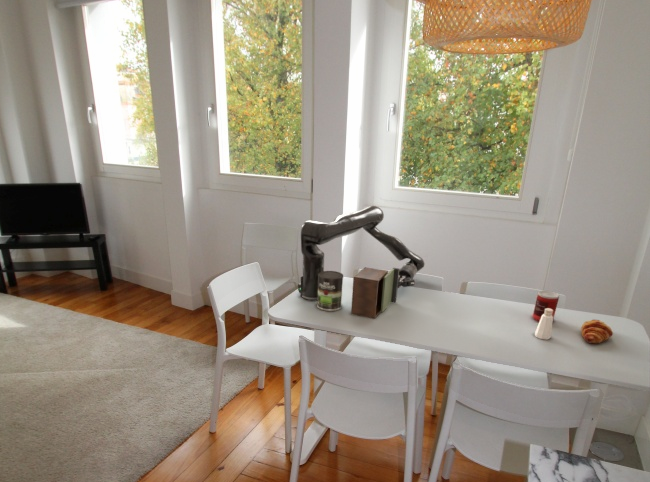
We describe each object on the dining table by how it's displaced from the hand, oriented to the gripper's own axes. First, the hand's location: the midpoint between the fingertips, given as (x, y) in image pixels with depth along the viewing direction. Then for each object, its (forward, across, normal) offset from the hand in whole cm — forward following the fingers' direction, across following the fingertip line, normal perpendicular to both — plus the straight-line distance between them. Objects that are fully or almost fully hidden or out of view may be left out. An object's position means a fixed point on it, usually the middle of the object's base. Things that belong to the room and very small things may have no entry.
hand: (395, 286), depth 201 cm
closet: (+15, +7, -7) cm, 18 cm away
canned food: (-10, -59, -7) cm, 60 cm away
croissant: (0, -77, -7) cm, 78 cm away
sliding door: (+8, 0, -7) cm, 11 cm away
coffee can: (+19, +23, -7) cm, 30 cm away
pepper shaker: (+8, -59, -7) cm, 60 cm away
